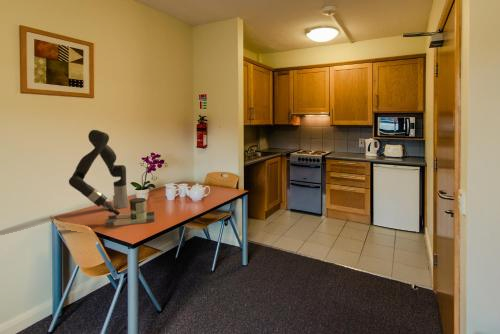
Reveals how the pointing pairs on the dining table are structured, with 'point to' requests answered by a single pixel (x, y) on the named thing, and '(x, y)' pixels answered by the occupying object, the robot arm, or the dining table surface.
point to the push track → (113, 221)
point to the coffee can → (138, 208)
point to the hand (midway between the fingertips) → (118, 214)
